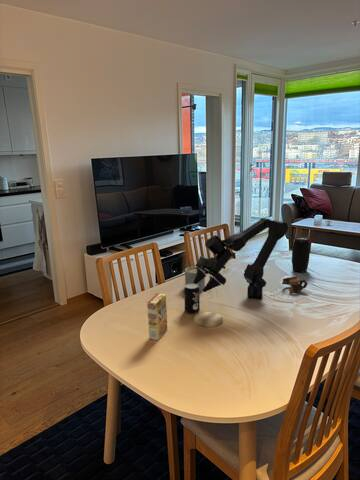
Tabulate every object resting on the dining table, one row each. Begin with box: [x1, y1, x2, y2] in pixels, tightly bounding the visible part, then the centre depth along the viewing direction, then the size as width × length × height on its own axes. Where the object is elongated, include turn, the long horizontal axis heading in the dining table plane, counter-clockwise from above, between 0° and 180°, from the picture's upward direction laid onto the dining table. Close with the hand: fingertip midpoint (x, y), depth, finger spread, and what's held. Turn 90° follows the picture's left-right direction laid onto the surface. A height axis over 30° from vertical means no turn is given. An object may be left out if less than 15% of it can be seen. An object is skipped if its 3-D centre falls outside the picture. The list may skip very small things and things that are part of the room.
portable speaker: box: [291, 235, 311, 274], centre depth 203 cm, size 9×9×20 cm
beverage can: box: [183, 283, 201, 315], centre depth 157 cm, size 7×7×12 cm
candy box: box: [146, 293, 168, 341], centre depth 138 cm, size 9×4×15 cm, turn 158°
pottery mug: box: [281, 276, 308, 295], centre depth 178 cm, size 12×10×8 cm
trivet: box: [193, 311, 224, 328], centre depth 150 cm, size 12×12×1 cm
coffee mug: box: [184, 266, 206, 293], centre depth 184 cm, size 13×10×10 cm
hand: (198, 287), depth 157 cm, fingers open, 9 cm apart
